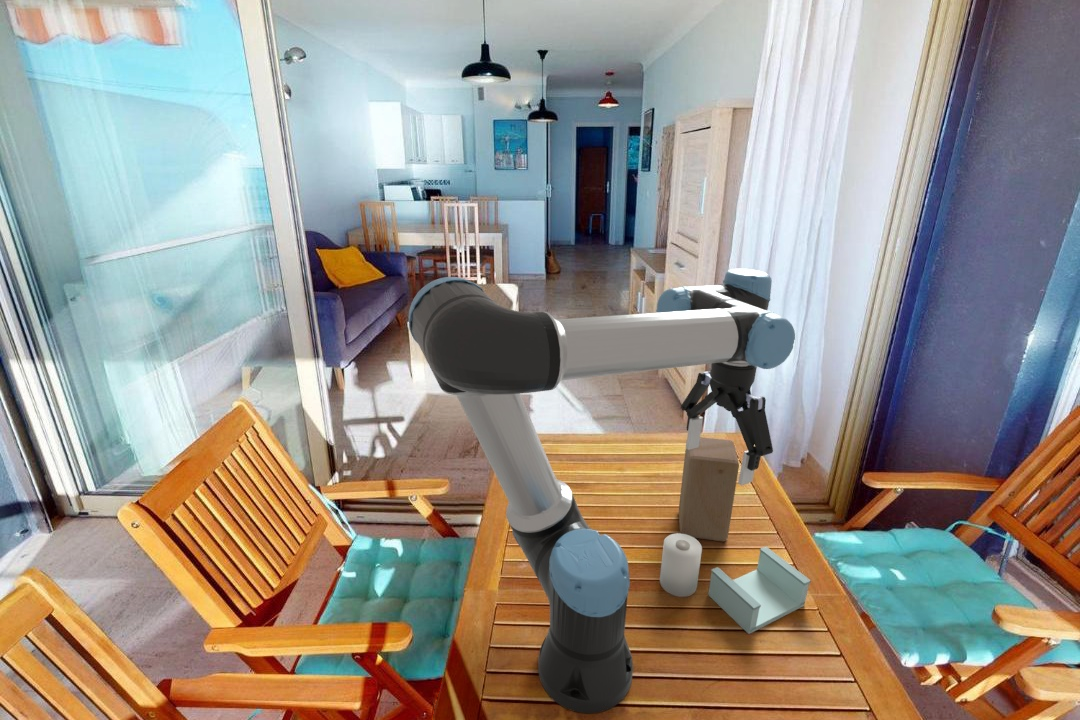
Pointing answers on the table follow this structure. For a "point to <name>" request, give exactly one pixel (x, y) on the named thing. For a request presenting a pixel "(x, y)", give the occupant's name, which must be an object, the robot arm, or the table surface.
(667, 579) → the roll
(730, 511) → the wooden block
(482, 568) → the table surface
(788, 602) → the cradle
